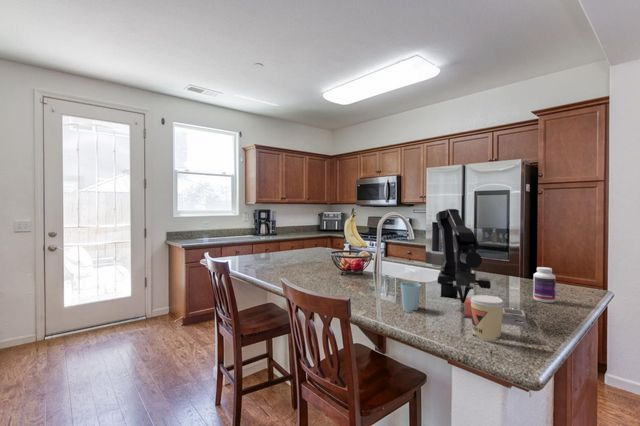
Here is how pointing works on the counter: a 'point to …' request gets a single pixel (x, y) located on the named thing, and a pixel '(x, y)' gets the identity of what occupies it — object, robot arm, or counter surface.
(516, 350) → the counter surface
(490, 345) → the counter surface
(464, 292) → the robot arm
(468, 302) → the red block with knob
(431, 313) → the counter surface
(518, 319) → the panel
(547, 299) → the pill bottle
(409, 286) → the cup
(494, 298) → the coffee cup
